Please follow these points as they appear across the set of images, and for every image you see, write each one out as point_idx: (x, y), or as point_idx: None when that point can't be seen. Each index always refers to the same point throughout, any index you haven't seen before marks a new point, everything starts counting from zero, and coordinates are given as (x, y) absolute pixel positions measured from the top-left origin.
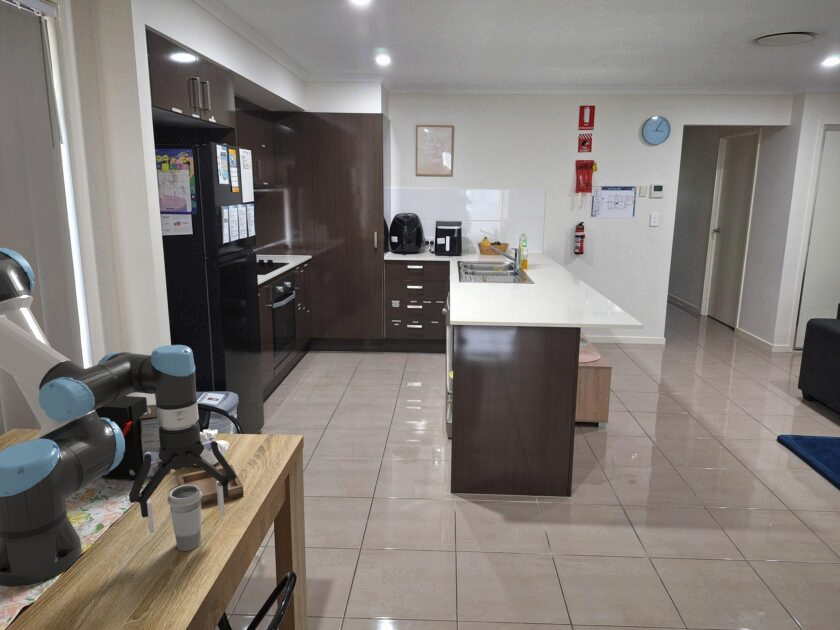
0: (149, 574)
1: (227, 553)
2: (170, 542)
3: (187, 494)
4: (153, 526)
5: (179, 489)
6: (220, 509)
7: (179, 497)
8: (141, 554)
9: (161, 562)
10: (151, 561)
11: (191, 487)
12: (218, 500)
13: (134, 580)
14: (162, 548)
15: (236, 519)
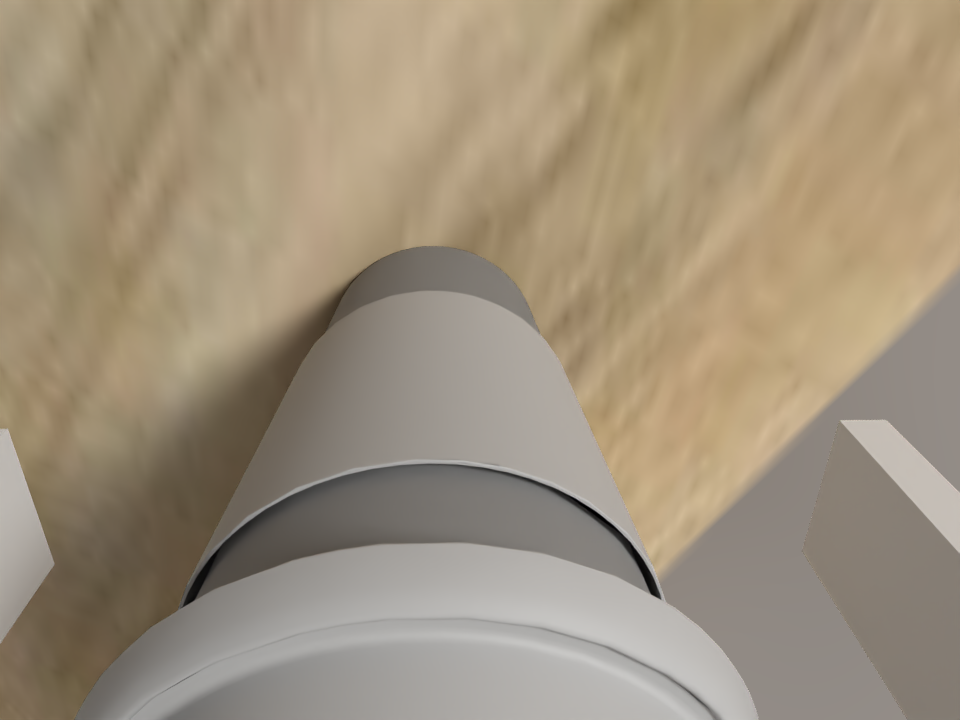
0: (136, 566)
1: (666, 562)
2: (277, 233)
3: (502, 519)
4: (9, 624)
5: (315, 660)
6: (841, 609)
7: (331, 516)
8: (25, 306)
9: (210, 477)
10: (130, 436)
11: (627, 685)
12: (917, 586)
13: (41, 584)
14: (207, 297)
15: (955, 118)
